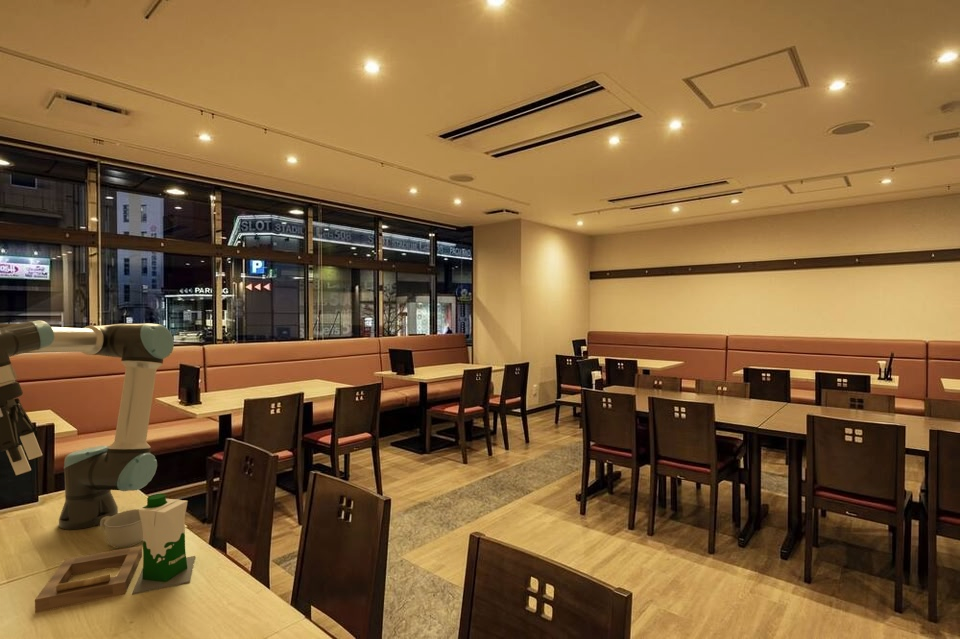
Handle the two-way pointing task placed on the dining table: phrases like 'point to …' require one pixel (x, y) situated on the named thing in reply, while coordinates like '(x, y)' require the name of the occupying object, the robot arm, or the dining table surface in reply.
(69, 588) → the frame
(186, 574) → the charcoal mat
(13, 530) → the dining table surface
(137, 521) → the teacup
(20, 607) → the dining table surface
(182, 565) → the soya milk
